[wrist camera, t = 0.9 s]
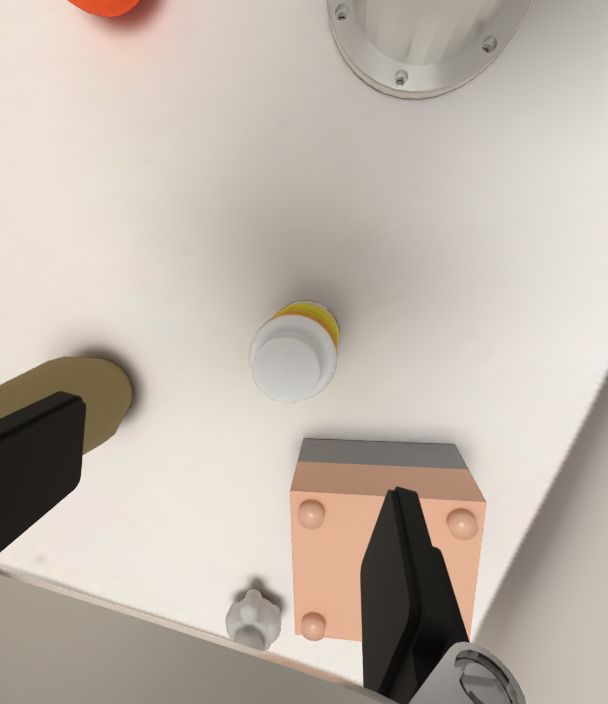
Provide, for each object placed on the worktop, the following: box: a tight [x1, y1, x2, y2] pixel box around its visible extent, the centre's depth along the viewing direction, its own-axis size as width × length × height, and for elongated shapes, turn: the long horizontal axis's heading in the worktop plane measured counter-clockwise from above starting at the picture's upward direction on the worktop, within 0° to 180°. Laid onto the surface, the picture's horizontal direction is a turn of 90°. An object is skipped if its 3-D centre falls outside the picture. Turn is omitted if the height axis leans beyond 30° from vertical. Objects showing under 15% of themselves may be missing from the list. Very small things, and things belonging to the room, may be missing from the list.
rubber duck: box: [226, 589, 281, 652], centre depth 35 cm, size 5×7×8 cm
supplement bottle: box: [249, 301, 340, 403], centre depth 26 cm, size 6×6×10 cm
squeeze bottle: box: [0, 357, 132, 455], centre depth 26 cm, size 8×8×18 cm
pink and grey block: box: [290, 438, 486, 641], centre depth 30 cm, size 13×13×8 cm
